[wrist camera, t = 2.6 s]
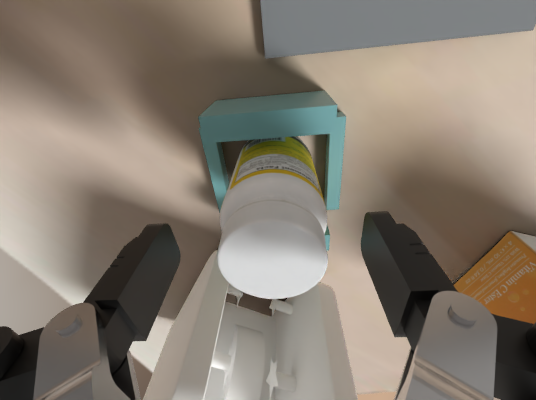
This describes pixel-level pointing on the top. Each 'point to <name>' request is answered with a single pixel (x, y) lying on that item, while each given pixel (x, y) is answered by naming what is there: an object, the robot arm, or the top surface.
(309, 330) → the cable organizer
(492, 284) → the small box
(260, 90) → the top surface
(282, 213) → the supplement bottle
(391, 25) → the mat
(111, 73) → the top surface
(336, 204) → the teal corner cradle
